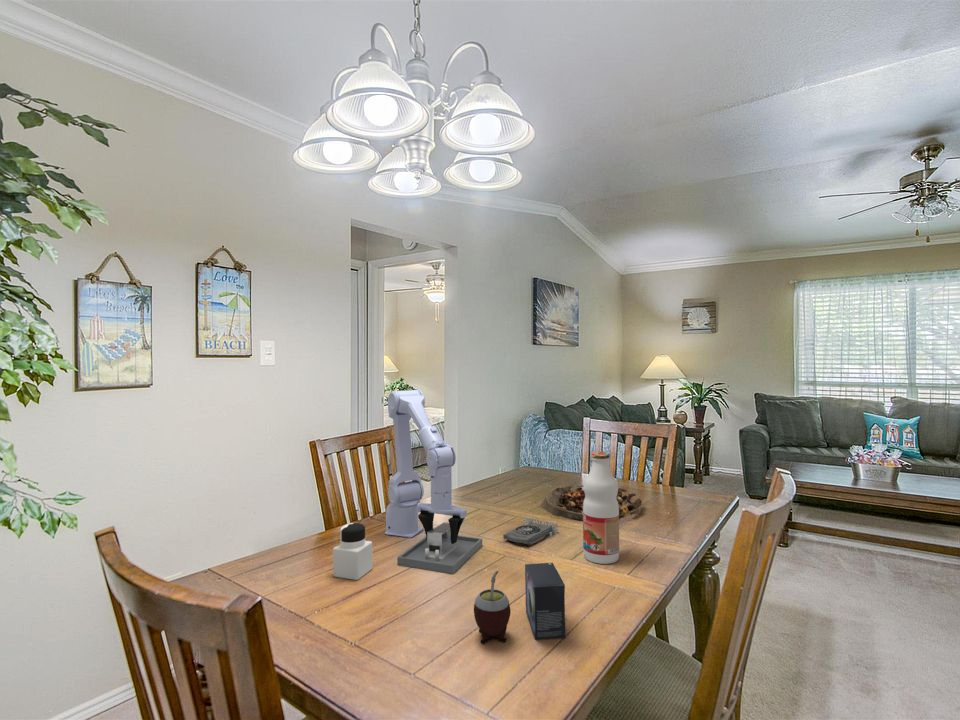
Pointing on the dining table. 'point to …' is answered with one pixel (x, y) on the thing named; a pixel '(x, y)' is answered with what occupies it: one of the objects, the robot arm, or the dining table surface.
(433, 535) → the block
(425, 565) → the tray
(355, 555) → the medicine bottle
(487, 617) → the mate gourd
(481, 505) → the dining table surface
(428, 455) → the robot arm
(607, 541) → the fruit juice
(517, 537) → the graphics card
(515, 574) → the dining table surface
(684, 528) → the dining table surface
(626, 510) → the food dish
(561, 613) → the small box
